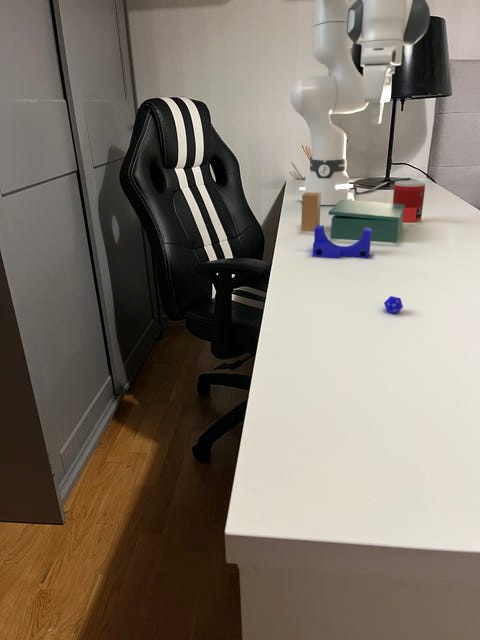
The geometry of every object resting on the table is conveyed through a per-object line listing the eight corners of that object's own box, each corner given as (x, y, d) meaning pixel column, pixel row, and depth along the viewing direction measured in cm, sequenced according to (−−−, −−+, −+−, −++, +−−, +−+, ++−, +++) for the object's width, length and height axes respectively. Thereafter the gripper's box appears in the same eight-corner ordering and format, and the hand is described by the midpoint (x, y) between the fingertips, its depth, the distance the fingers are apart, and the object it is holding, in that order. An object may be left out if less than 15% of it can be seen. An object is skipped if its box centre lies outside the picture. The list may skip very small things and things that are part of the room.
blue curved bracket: (312, 256, 111) (313, 230, 109) (316, 251, 115) (317, 225, 113) (367, 260, 108) (369, 232, 105) (369, 254, 112) (371, 227, 109)
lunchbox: (330, 241, 123) (331, 218, 121) (342, 226, 137) (344, 205, 135) (396, 245, 118) (398, 221, 115) (402, 230, 132) (404, 208, 130)
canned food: (422, 225, 136) (427, 184, 131) (391, 225, 137) (395, 184, 133) (419, 219, 143) (423, 180, 138) (390, 219, 144) (393, 180, 140)
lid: (328, 214, 121) (328, 211, 120) (341, 202, 135) (341, 199, 134) (398, 221, 115) (399, 217, 115) (404, 207, 130) (404, 204, 129)
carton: (304, 230, 135) (305, 192, 131) (319, 230, 133) (321, 192, 130) (301, 233, 131) (302, 194, 127) (316, 234, 130) (317, 195, 126)
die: (405, 314, 80) (402, 303, 78) (389, 319, 81) (385, 308, 79) (401, 301, 82) (397, 290, 80) (385, 305, 83) (381, 295, 81)
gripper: (372, 60, 121) (368, 122, 127) (359, 54, 104) (355, 126, 109) (399, 59, 119) (394, 121, 125) (391, 53, 102) (385, 125, 107)
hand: (376, 123), depth 117 cm, fingers closed
